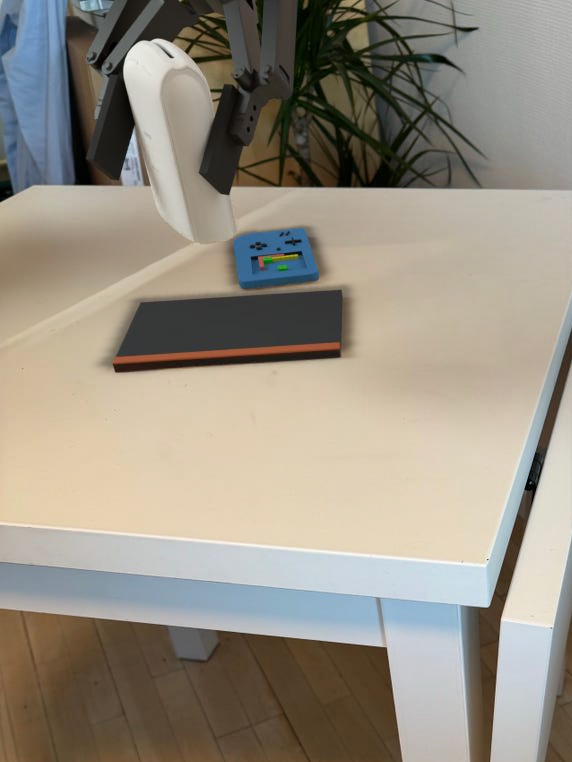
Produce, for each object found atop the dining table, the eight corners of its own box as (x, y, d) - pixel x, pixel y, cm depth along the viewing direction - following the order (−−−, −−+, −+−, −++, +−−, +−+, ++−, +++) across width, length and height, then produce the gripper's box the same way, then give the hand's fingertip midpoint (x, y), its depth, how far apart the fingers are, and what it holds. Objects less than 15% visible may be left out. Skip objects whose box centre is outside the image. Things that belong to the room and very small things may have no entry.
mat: (114, 372, 80) (111, 362, 80) (142, 309, 90) (140, 301, 90) (340, 357, 81) (339, 347, 81) (342, 297, 92) (341, 288, 91)
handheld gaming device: (303, 224, 105) (318, 269, 94) (305, 234, 105) (320, 280, 95) (231, 232, 103) (238, 279, 93) (233, 242, 104) (240, 290, 93)
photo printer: (151, 214, 74) (106, 34, 65) (202, 205, 75) (164, 27, 67) (191, 251, 67) (146, 56, 59) (246, 239, 69) (210, 48, 60)
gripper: (395, -73, 66) (310, 221, 66) (155, -76, 73) (78, 189, 73) (349, -169, 59) (254, 161, 59) (88, -162, 66) (3, 132, 66)
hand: (156, 176), depth 66 cm, fingers closed on photo printer, 10 cm apart
